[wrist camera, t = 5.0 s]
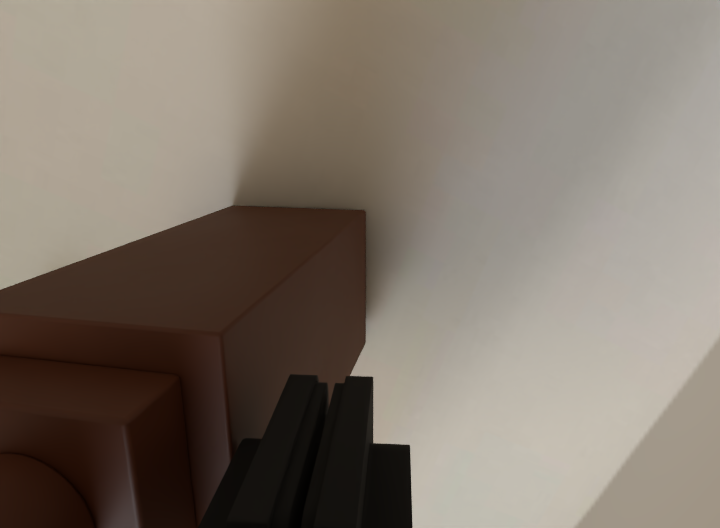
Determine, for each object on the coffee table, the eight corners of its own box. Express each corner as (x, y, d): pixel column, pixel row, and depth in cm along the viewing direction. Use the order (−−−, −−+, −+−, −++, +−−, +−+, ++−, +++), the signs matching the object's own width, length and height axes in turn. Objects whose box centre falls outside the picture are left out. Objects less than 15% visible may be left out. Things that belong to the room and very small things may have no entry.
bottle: (365, 210, 20) (-458, 911, 2) (365, 343, 21) (-126, 1370, 4) (231, 205, 21) (-1003, 649, 3) (240, 332, 22) (-579, 1084, 5)
